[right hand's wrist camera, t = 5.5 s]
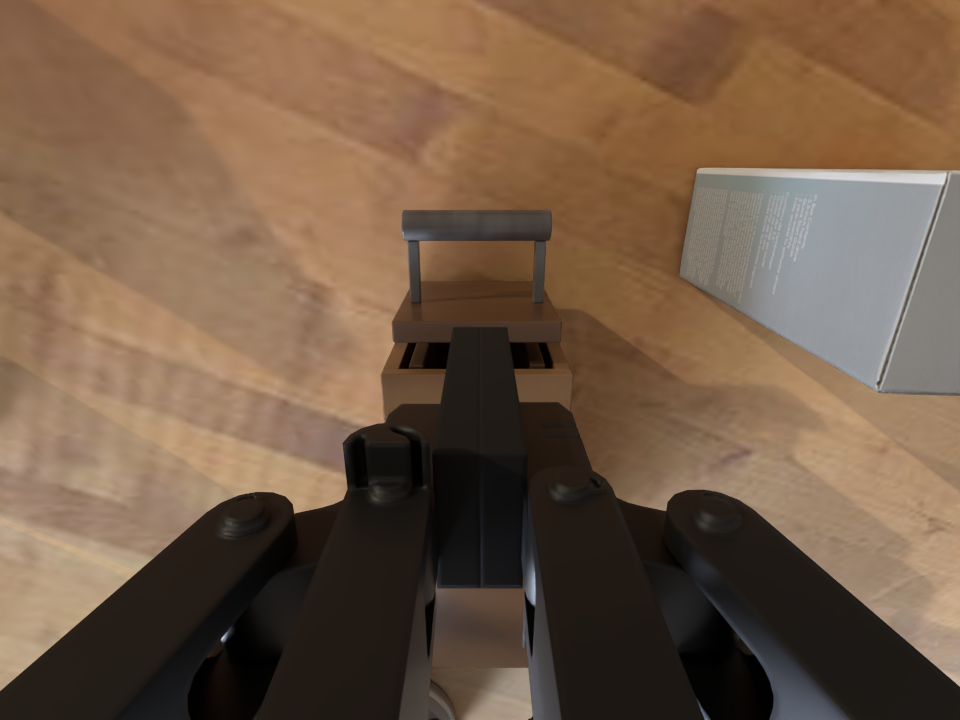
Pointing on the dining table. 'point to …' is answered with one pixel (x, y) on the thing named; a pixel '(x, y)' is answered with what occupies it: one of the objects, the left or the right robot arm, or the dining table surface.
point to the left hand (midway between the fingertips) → (477, 561)
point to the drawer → (476, 288)
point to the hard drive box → (839, 265)
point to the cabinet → (476, 612)
